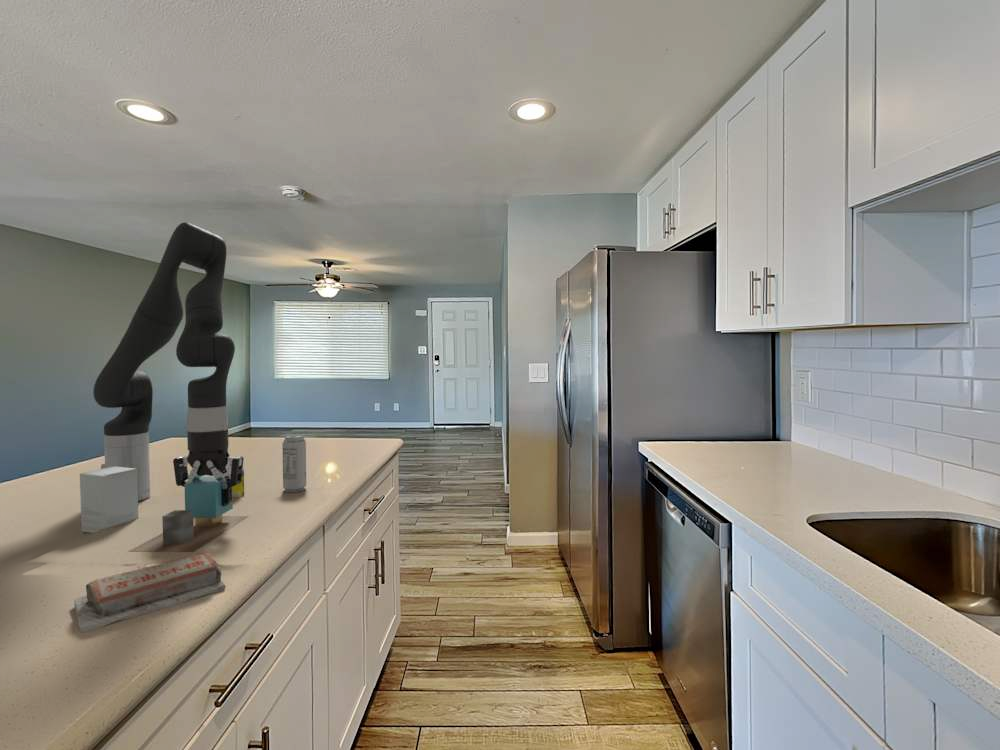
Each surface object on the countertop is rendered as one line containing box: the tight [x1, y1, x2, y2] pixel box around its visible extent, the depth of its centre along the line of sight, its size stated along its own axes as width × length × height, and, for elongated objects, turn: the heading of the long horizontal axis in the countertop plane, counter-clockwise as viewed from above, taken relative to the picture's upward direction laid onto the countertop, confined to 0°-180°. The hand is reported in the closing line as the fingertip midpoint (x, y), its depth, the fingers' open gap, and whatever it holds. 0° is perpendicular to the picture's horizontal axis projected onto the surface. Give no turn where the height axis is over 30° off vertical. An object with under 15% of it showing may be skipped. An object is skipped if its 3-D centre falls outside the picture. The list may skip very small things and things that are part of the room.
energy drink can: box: [282, 434, 307, 493], centre depth 138 cm, size 6×6×15 cm
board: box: [129, 509, 249, 553], centre depth 101 cm, size 12×20×7 cm, turn 0°
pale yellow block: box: [195, 514, 223, 527], centre depth 106 cm, size 4×4×6 cm
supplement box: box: [79, 466, 139, 534], centre depth 107 cm, size 7×7×13 cm
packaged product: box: [74, 552, 226, 633], centre depth 77 cm, size 18×5×10 cm
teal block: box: [184, 476, 234, 518], centre depth 106 cm, size 6×6×7 cm
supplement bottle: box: [221, 462, 245, 498], centre depth 128 cm, size 6×6×10 cm
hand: (209, 504), depth 106 cm, fingers closed on teal block, 6 cm apart
